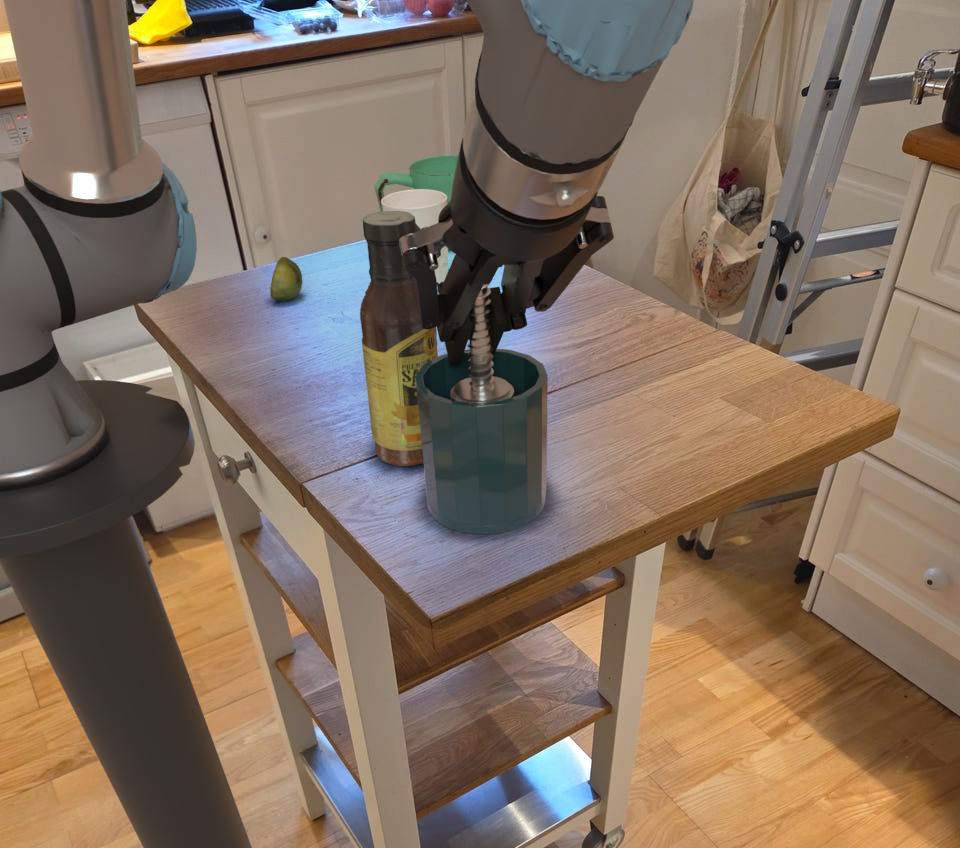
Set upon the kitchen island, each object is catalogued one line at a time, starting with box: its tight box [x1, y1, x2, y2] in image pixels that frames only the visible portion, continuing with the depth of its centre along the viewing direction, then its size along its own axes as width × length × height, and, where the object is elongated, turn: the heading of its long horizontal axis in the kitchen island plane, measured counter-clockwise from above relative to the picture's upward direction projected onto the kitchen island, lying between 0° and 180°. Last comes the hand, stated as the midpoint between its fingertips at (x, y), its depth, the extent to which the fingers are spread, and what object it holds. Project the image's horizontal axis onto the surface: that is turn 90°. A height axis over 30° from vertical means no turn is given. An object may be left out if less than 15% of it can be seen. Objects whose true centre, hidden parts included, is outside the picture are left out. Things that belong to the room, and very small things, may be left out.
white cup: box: [381, 188, 449, 291], centre depth 108 cm, size 8×8×10 cm
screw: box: [450, 284, 514, 403], centre depth 63 cm, size 13×5×5 cm
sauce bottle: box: [359, 211, 439, 467], centre depth 73 cm, size 6×6×20 cm
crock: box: [415, 348, 549, 535], centre depth 69 cm, size 10×10×11 cm
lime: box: [269, 256, 303, 302], centre depth 107 cm, size 4×5×5 cm
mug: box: [373, 154, 459, 251], centre depth 118 cm, size 15×10×10 cm
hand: (467, 346), depth 68 cm, fingers closed on screw, 2 cm apart
